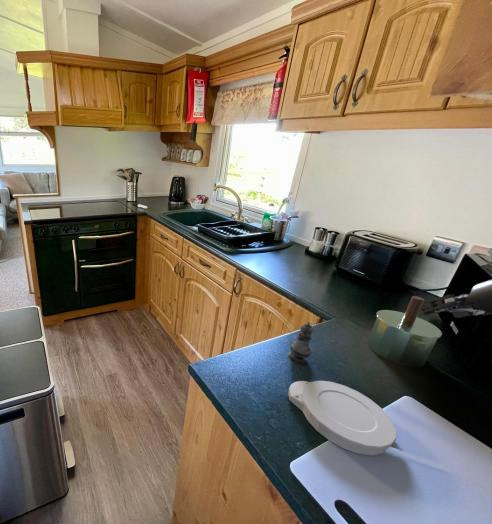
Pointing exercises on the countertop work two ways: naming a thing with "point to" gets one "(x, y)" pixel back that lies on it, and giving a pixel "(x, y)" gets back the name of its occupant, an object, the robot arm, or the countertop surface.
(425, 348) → the pot
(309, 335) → the grey chess piece
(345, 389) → the lid
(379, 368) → the countertop surface
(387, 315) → the pot lid
